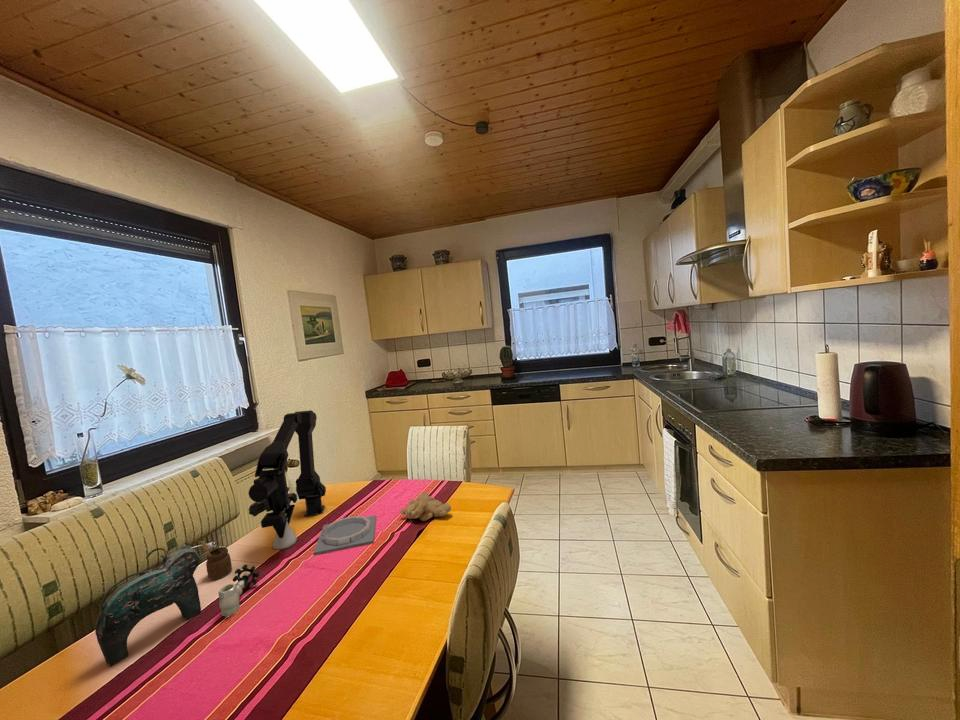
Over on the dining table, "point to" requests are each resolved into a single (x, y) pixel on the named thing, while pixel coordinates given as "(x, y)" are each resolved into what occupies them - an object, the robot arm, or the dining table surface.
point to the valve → (235, 590)
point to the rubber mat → (344, 532)
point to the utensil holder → (218, 562)
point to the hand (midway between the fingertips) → (283, 533)
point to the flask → (285, 539)
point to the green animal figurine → (147, 600)
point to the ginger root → (425, 508)
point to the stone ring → (347, 539)
